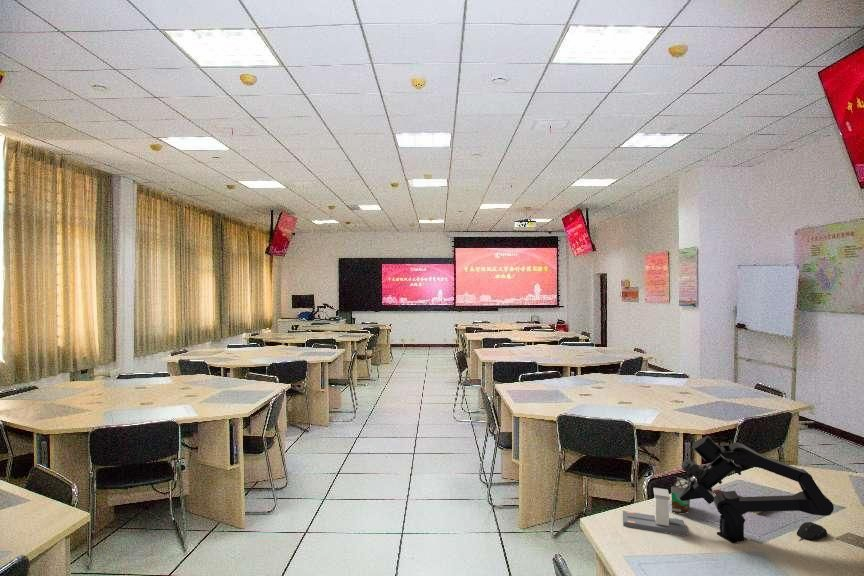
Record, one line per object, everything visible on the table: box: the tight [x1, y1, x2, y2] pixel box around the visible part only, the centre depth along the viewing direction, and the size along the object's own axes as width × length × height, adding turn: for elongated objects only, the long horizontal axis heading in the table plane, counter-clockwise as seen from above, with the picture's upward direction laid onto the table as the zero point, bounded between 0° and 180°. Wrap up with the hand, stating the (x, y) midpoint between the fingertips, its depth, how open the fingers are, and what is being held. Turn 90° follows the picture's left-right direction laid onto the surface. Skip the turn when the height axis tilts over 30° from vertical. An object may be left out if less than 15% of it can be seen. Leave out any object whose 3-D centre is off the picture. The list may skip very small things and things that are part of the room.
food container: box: [670, 477, 691, 514], centre depth 179 cm, size 12×6×10 cm, turn 143°
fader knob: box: [653, 487, 671, 526], centre depth 166 cm, size 5×6×10 cm
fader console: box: [622, 510, 688, 537], centre depth 167 cm, size 20×9×2 cm, turn 69°
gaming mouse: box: [796, 521, 828, 542], centre depth 160 cm, size 6×15×4 cm, turn 119°
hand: (680, 499), depth 164 cm, fingers closed
